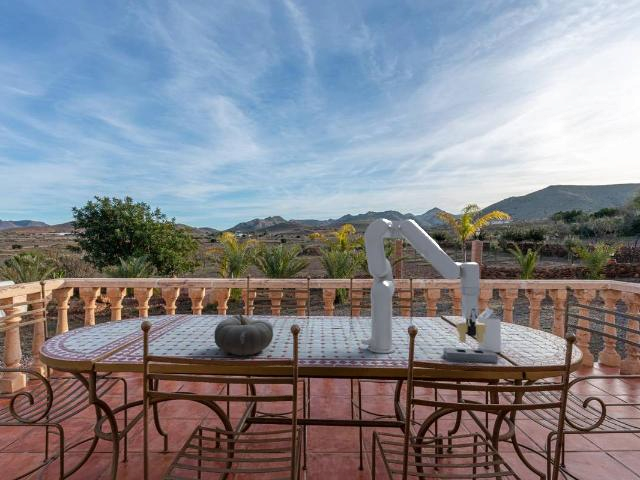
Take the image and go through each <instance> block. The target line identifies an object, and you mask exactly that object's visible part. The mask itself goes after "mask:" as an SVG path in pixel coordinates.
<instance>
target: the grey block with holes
mask: <svg viewBox="0 0 640 480" xmlns="http://www.w3.org/2000/svg"><path fill="white" fill-rule="evenodd" d="M443 356H444V358H445V359H446V361H458V362H459V361H462V362H463V361H464V362H477V363H478V362H479V363H496V364H498V360H499V359H498V358H499V356H498V354H496V352H493V351H492V350H481V349H479V348H478V349H475V348H459V347H457V348H455V347H443Z"/></svg>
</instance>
